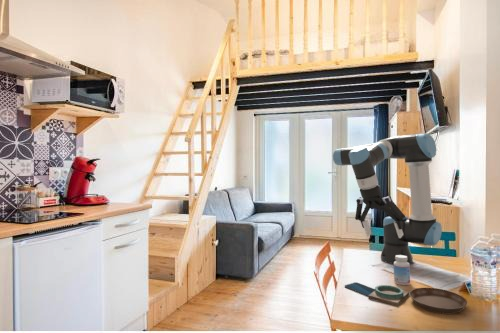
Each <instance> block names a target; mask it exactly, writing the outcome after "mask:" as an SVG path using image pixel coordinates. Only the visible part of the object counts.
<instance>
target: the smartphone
mask: <svg viewBox="0 0 500 333" xmlns="http://www.w3.org/2000/svg"><path fill="white" fill-rule="evenodd" d="M344 288H345V289H348V290H350V291H352V292H355V293H358V294H360V295H362V296H365V297H367V298H368V295H370V294H371V293H372V292H374V291H375V288H372V287H370V286H367V285H364V284H362V283H359V282H351V283H348V284H345V285H344Z"/></svg>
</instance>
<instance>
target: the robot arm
mask: <svg viewBox="0 0 500 333" xmlns="http://www.w3.org/2000/svg"><path fill="white" fill-rule="evenodd" d="M436 156H437V145H436V141H435V140H434V138H433V136H432V135H431V134H429V133H414V134H404V135H395V136H392V137H387V138H384V139H379V140H378V141H376V142H373V143H368V144H363V145H357V146H351V147H344V148H337V149H335V150H334V151H333V153H332V161H333V163H334V164H335V165H337V166H351V167H352V170H353V173H354V176H355V180H356V182H357V185H358V188H359V192H360V197H358V198H357V199H355V200H356V209H355V216H354V218H355V220H356V221H359V222H360V224H361V227H362V229H364V231H365V234H366V237H369V236H371V235H372V230H371V227H370V224H369V221H368V218H366V217H367V215H368V213H369V212H370V209H371V210H380V211H383V212H384V213H385V214H386V215H388V216H386V217H384V218H383V224H382V227H383V228H382V230H383V246H382V250H381V252H380V260H381V261H383V262H384V263H388V264H393V265H394V262H395V261H396V259H395V256H396V255H404V256H407V259H408V260H407V262H408V263H409V265H410V264H413V262H414V260H413V255H412V253H411V249H410V246H409V243H410V244H417V245H423V246H430V247H431V246H432V247H434V246H436V245H438V244H439V242H440V240H441V237H442V231H443V226H442V223H441V222H439V221H437V217H436V216H435V215H434V214H433V210H432V208H433V207H432V195H431V182H430V168H429V167H430V166H429V165H430V164H431V163H432V162H433V159H432V158H435V157H436ZM385 159H399V160H402V159H403V160H404V164H406V165H407V166H408V177H409V189H410V200H411V201H410V203H411V214H410V215H409V216H407V215H405V213H403V211H402V210H401V209H400V208H399V207H398V206H397V204H396V203H395V202H394V200H393V199H392V197H391V196H390V195H387V196H385V197H384V196H383V195H382V189H381V186H380V184H379V180H378V177H377V174H376V170H375V167H376V166H377V165H378V164H380V163H381V162H384V160H385ZM364 204H365V207H364V210H363V206H364ZM362 211H363V212H362Z"/></svg>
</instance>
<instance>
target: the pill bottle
mask: <svg viewBox="0 0 500 333" xmlns="http://www.w3.org/2000/svg"><path fill="white" fill-rule="evenodd" d="M395 259H396V261H395V262H394V264H393V278H394V279H393V281H394V283H395V284H397V285H399V286H409V285H410V284H411V270H410V269H411V267H410V266H411V265H410V264H409V263H408V262H407V260H408V259H407V256H404V255H396V256H395Z"/></svg>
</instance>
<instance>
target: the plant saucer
mask: <svg viewBox="0 0 500 333" xmlns="http://www.w3.org/2000/svg"><path fill="white" fill-rule="evenodd" d="M409 297H410V298H411V299H412V301H413V303H415V304H416V305H417V306H418V307H419V308H422V309H423V310H427V311H430V312H433V313H438V314H447V315H449V314H457V313H459V312H462V311H463V310H465V308H466V307H467V305H468V301H467V299H466V298H465V297H464V296H463V295H461V294H459V293H456V292H454V291H450V290H447V289H442V288H437V287H436V288H435V287H418V288H413V289H411V290H410V291H409Z"/></svg>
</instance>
